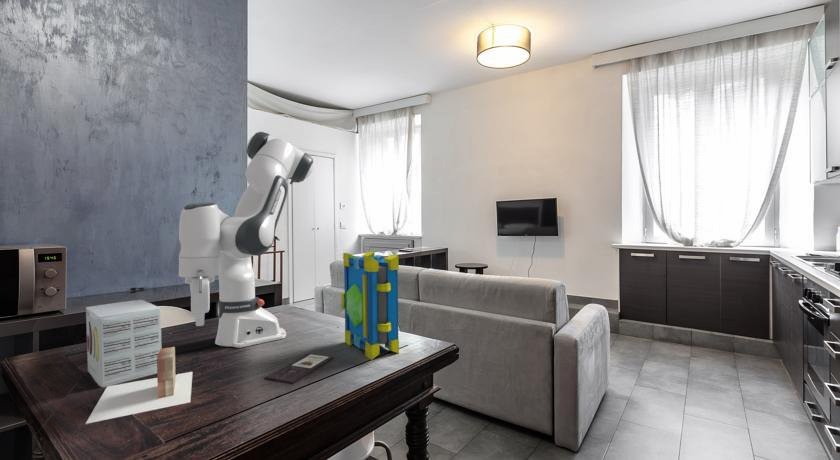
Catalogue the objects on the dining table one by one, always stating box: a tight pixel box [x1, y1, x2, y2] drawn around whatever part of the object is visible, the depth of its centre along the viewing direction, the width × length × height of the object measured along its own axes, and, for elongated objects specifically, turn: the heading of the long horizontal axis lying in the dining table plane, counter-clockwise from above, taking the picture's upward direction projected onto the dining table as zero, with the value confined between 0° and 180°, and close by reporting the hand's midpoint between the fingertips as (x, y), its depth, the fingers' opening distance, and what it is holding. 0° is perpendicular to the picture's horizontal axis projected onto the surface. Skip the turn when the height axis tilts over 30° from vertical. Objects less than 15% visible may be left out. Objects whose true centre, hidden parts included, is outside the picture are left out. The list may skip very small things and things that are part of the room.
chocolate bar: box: [263, 353, 334, 385], centre depth 106 cm, size 9×1×18 cm
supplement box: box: [85, 299, 163, 388], centre depth 104 cm, size 17×13×18 cm
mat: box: [85, 371, 193, 425], centre depth 90 cm, size 18×20×1 cm
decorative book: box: [340, 250, 400, 361], centre depth 122 cm, size 14×23×30 cm, turn 33°
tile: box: [156, 346, 176, 398], centre depth 92 cm, size 3×8×9 cm, turn 29°
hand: (199, 324), depth 95 cm, fingers closed
